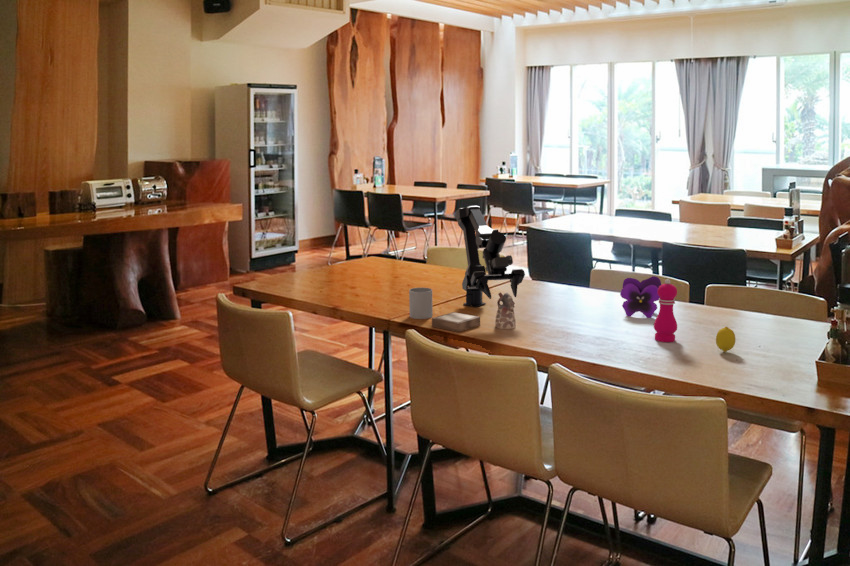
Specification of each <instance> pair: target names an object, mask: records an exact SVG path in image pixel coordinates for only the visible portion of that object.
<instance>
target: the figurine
mask: <svg viewBox="0 0 850 566" xmlns="http://www.w3.org/2000/svg"><path fill="white" fill-rule="evenodd" d="M497 295H498V296H499V298H498V299H497V311H496V315H495V322H494V325H495V327H496V328H497V329H499V330H500V329H501V330H514V329H516V327H517V325H516V318H515V310H514V308H515V301H514V300H513V297H512V295H511V294H509V293H508V292H505V293H503V294H502V292H501V291H500V292H498V294H497ZM501 302H502V304H501Z"/></svg>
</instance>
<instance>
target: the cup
mask: <svg viewBox="0 0 850 566" xmlns="http://www.w3.org/2000/svg"><path fill="white" fill-rule="evenodd" d="M408 294H409V295H408V297H409V303H408V304H409V318H411V319H414V320H416V319H417V320H428V319H432V318H433V289H432V288H430V287H413V288H409V290H408Z"/></svg>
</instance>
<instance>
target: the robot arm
mask: <svg viewBox="0 0 850 566" xmlns="http://www.w3.org/2000/svg"><path fill="white" fill-rule="evenodd" d="M482 213H483V212H482V211H481V207H480V206H479V205H468V206H466V207H459V208H458V209H457V210H456V211H455V219H456V221H457V226H459V228H460V229H461V230H462V232H463V238H464V245H465V254H466V260H467V262H466V263H467V268H466V270H465V271H464V277H463V280H462V283H461V288H462V289H463V291H465V292H466V294H465V302H464V303H463V306H467V307H468V306H469V307H474V308H476V307H477V308H478V307H480V306H484V305H486V302H483V293H484V295H486V297H487V298H488V299H489V300H492V293H491V290H490V287H489V284H488V283H489V281H506V280H507V281H509V283H510V288H511V291H512V294H513V297H514V298H517V295H518V286H519V285H520V284H521V283H522V282H523V280H524V279H525V276H526V273H525V270H524V269H522V268H513V269H512V270H511V273H506V272H507V271H508V269H507V267H509V266H512V265H513V263H514V260H513V257H512V255H511V254H510V255H506V256H500V253H502V251H503V248H504V246H505V244H506V241H507V237H506V235H505V234H504V233H503V232H501V231H499V229H493V228H491V227H490V226H489V225H488V224H487V222H486V220H485V217H484V215H483V214H482ZM479 249H483V250H482V259H484V263H485V265H482V263H480V262H481V261H480V255H479ZM486 272H487V273H488V274H487V273H486Z"/></svg>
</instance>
